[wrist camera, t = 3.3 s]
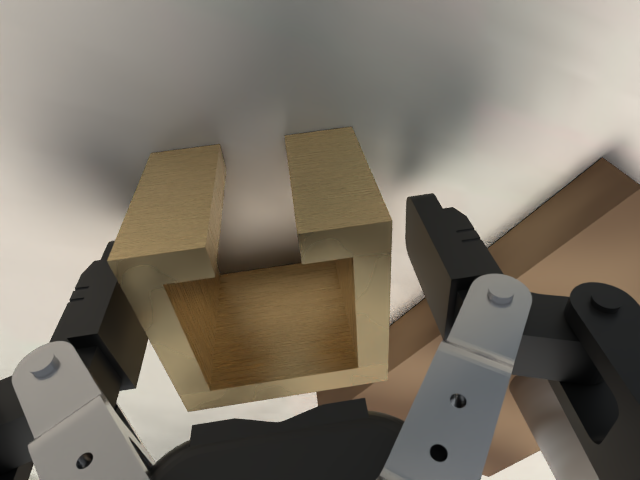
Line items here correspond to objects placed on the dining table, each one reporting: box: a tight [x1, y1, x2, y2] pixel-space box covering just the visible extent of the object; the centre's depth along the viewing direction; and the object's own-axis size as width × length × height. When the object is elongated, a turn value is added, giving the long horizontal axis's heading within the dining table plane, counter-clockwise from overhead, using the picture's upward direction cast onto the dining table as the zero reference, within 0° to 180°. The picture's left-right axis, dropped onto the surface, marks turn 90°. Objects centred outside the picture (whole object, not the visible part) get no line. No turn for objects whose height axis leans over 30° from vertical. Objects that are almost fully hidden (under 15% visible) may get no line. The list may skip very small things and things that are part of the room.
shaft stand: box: [316, 157, 640, 480], centre depth 19 cm, size 16×14×7 cm
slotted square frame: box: [107, 127, 392, 412], centre depth 13 cm, size 6×6×5 cm
